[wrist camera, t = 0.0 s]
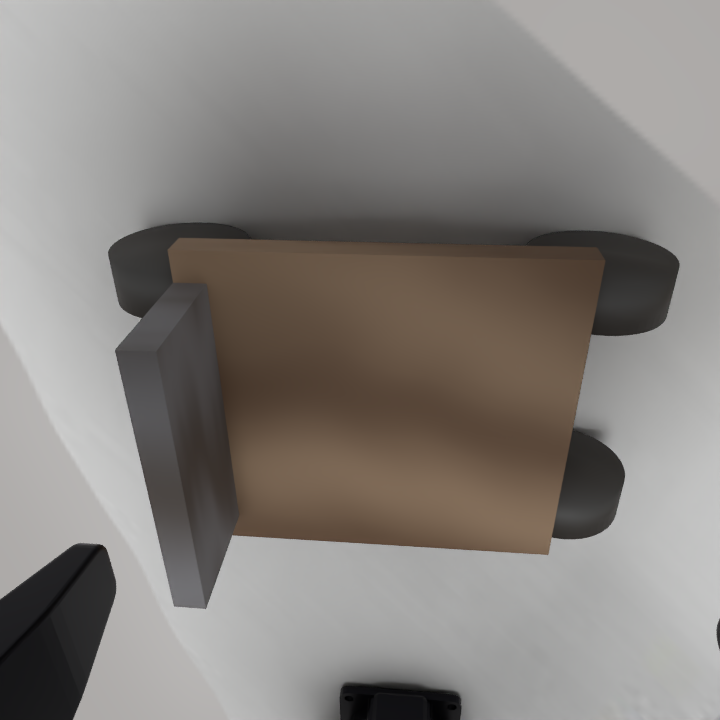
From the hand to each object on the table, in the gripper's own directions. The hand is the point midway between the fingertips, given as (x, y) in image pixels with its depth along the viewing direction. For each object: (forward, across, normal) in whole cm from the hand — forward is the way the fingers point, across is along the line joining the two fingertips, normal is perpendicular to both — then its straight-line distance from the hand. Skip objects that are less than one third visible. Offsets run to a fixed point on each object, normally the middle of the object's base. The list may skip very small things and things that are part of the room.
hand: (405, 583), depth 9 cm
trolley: (+15, +1, +4) cm, 15 cm away
